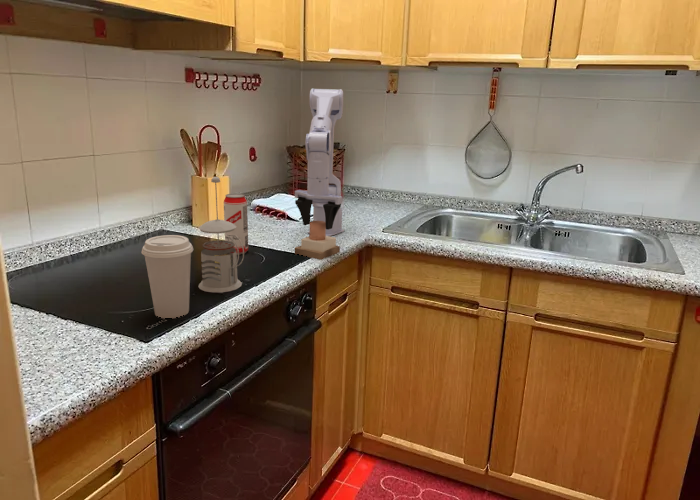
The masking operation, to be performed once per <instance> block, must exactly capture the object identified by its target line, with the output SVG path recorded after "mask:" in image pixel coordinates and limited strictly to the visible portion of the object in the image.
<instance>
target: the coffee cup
mask: <svg viewBox="0 0 700 500" xmlns="http://www.w3.org/2000/svg"><path fill="white" fill-rule="evenodd" d="M193 251H194V246H193V245H192V243H191V242H190V240H189V237H187V236H185V235H184V236H183V235H177V234H166V235H157V236H153V237H150V238H148V239H146V240H145V242H144V245H143V246H142V248H141V255H143V256H144V260H145V266H146V269H147V270H146V271H147V276H148V282H149V286H150V287H149V288H150V294H151V298H152V304H153V305H152V306H153V311H154V315H155V316H156V317H157V316H158V317H157V318H159V317H161V318H160V319H165V318H172V319H177V318H176V317H178V318H181V317H180V316H182V317H184V316H186V315H187V314H188V313H189V311H190V293H191V292H190V288H191V287H190V283H191V265H192V264H191V263H192V262H191V261H192V259H191V257H192V253H193ZM183 315H184V316H183Z"/></svg>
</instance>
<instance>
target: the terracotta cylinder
mask: <svg viewBox="0 0 700 500" xmlns="http://www.w3.org/2000/svg"><path fill="white" fill-rule="evenodd" d="M309 231H310V234H309V236H310V239H311V240H316V241H320V240H325V236H326V226H325V222H324V221H313V220H310V224H309Z"/></svg>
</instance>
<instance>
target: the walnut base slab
mask: <svg viewBox="0 0 700 500" xmlns="http://www.w3.org/2000/svg"><path fill="white" fill-rule="evenodd" d="M340 248H341V247H340V245H336V246H335V247H333V248H331V249H329V250H327V251H324V252H319V251H314V250H309V249H303V248H301V245H298V246H296V247H294V255H297V254H299V256H301V255H303V256H302V257H306V256H307V257H306V258H311V259H315V260H319V261H322V260H324V259H327V258H330V257H332V256H334V255H336V254H339V253H340V251H341V249H340Z"/></svg>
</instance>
